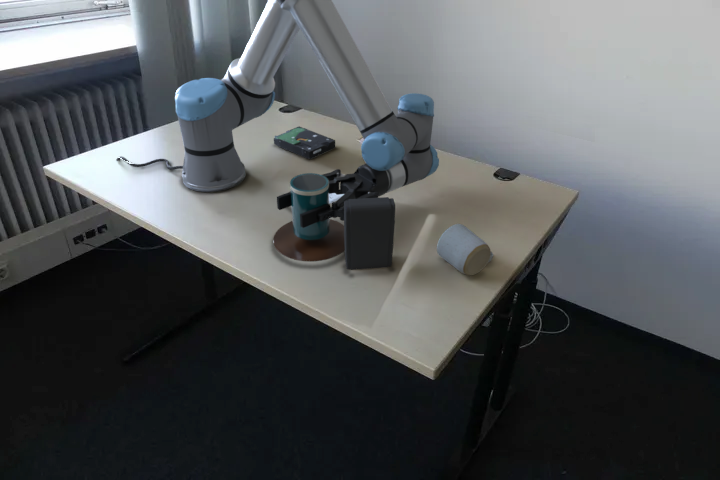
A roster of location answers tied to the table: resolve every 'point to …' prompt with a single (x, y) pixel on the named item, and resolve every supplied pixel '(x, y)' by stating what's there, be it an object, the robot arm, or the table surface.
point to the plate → (310, 243)
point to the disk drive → (304, 142)
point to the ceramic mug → (464, 249)
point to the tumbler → (309, 203)
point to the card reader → (369, 232)
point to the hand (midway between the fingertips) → (289, 212)
